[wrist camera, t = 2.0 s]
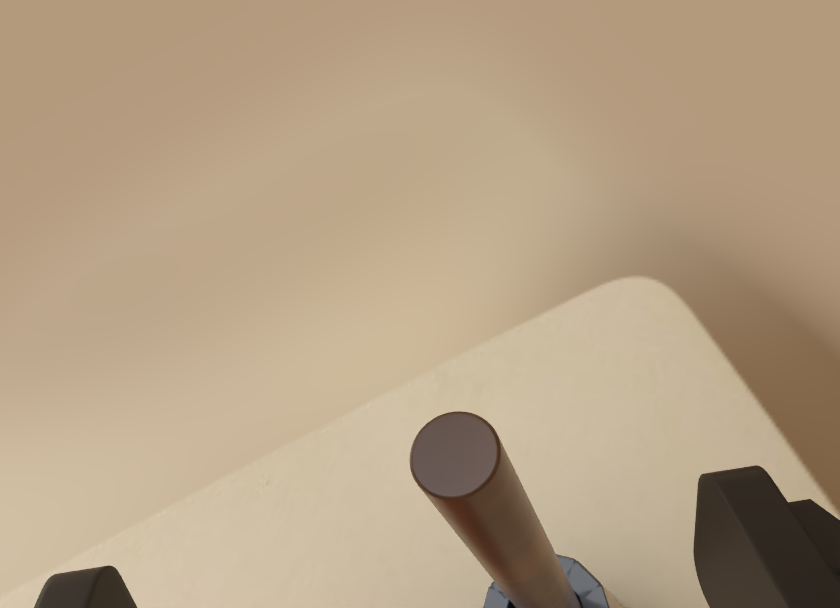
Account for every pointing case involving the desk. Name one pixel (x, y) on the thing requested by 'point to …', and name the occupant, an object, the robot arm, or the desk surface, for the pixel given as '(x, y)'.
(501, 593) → the tube
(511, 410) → the desk surface
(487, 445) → the stick
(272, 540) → the desk surface
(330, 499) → the desk surface
